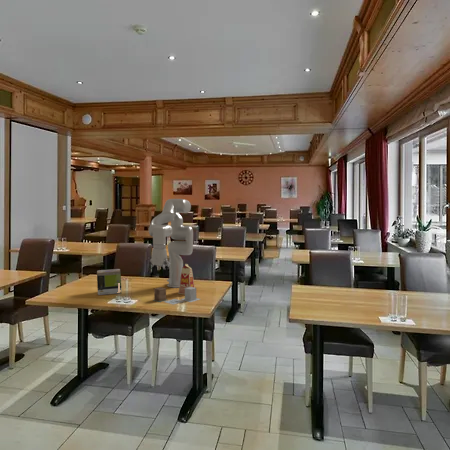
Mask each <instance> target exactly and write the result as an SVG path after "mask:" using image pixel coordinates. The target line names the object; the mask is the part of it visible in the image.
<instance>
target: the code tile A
mask: <svg viewBox="0 0 450 450" xmlns="http://www.w3.org/2000/svg"><path fill="white" fill-rule="evenodd" d="M184 302H185V301H184V300H181V299H177V298H173V299H170V300H169V299H167V300H166V301H164V303H165V304H170V305H172V306H174V305H176V304H181V303H184Z"/></svg>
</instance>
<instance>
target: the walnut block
mask: <svg viewBox="0 0 450 450" xmlns="http://www.w3.org/2000/svg"><path fill="white" fill-rule="evenodd" d="M153 290H154V291H153V293H154V297H153V300H156V301H155V302H157V301H163V302H165V301H164V300H166V299H167V288H165V287H156V288H153ZM166 301H167V300H166Z"/></svg>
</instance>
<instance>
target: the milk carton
mask: <svg viewBox="0 0 450 450" xmlns="http://www.w3.org/2000/svg"><path fill="white" fill-rule="evenodd" d="M188 287H194V288H196V287H195V281H194V273H193V269H192V267H191V266H189V264H188V263H185V264H184V265H183V268H182V272H181V277H180V287H178V288H179V289H178V292H177V293H178V295H185V288H188Z"/></svg>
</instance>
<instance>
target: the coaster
mask: <svg viewBox="0 0 450 450" xmlns="http://www.w3.org/2000/svg"><path fill="white" fill-rule="evenodd" d="M152 301H153V302H157V303H162V302H163V303H164V302H165V301H168V299H167V298H166V300H164V301H156V300H154V299H152Z"/></svg>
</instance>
